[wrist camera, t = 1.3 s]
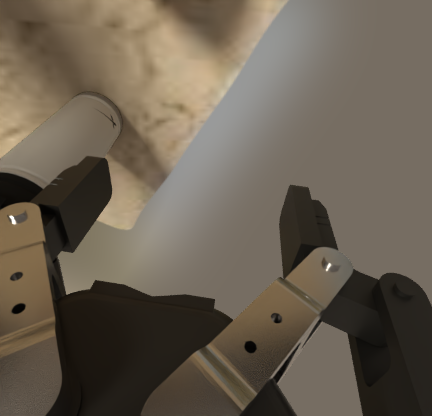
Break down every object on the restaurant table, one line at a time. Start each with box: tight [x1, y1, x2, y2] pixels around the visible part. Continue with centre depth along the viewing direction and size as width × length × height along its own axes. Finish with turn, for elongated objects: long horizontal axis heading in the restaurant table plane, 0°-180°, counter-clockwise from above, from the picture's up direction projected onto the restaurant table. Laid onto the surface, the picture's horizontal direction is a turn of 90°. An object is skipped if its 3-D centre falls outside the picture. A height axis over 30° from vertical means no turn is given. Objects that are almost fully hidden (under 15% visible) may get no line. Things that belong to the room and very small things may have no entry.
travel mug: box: [0, 92, 122, 210], centre depth 27 cm, size 6×7×20 cm
